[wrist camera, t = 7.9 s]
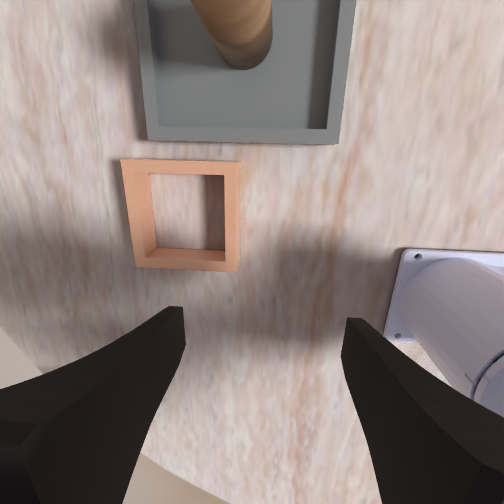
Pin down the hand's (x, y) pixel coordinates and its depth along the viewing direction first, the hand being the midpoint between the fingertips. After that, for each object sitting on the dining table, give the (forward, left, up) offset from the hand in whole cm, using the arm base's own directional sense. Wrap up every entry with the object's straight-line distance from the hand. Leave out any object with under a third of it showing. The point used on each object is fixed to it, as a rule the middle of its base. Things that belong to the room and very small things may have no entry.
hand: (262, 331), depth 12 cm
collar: (+6, -3, -10) cm, 12 cm away
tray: (+2, -14, -10) cm, 17 cm away
